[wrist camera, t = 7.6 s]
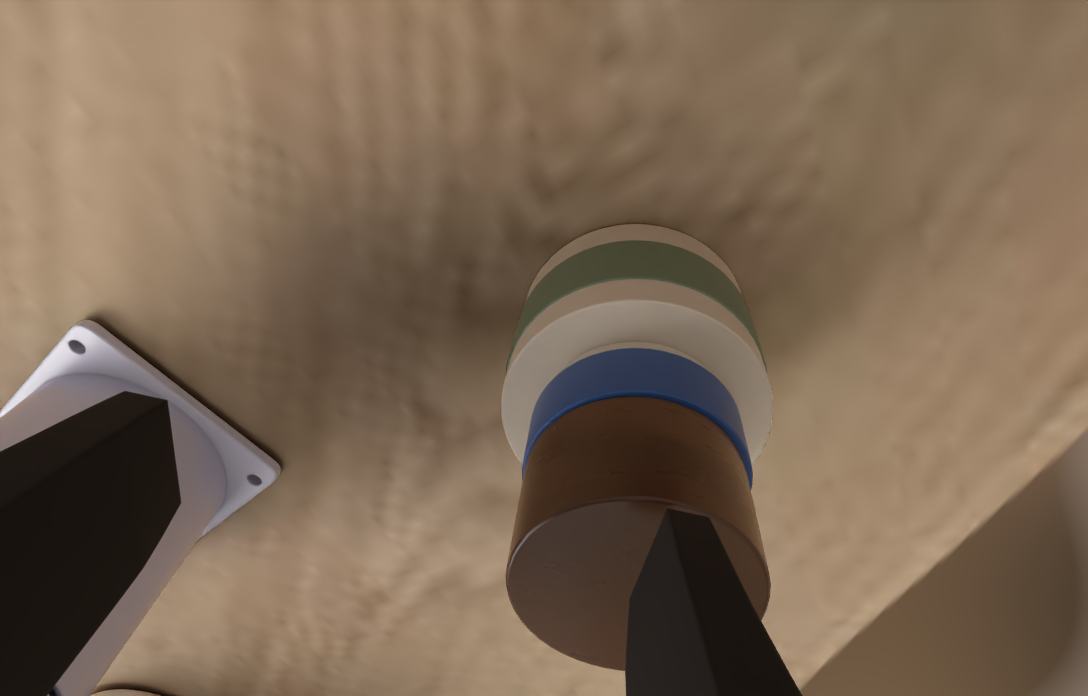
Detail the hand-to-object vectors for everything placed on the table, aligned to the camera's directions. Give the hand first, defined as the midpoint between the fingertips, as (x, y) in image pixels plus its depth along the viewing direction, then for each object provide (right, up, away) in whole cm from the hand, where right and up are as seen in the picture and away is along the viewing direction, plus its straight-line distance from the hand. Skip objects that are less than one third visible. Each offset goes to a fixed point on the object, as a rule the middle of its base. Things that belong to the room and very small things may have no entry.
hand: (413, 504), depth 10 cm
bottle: (+4, +3, +10) cm, 11 cm away
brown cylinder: (+4, -1, +4) cm, 6 cm away
